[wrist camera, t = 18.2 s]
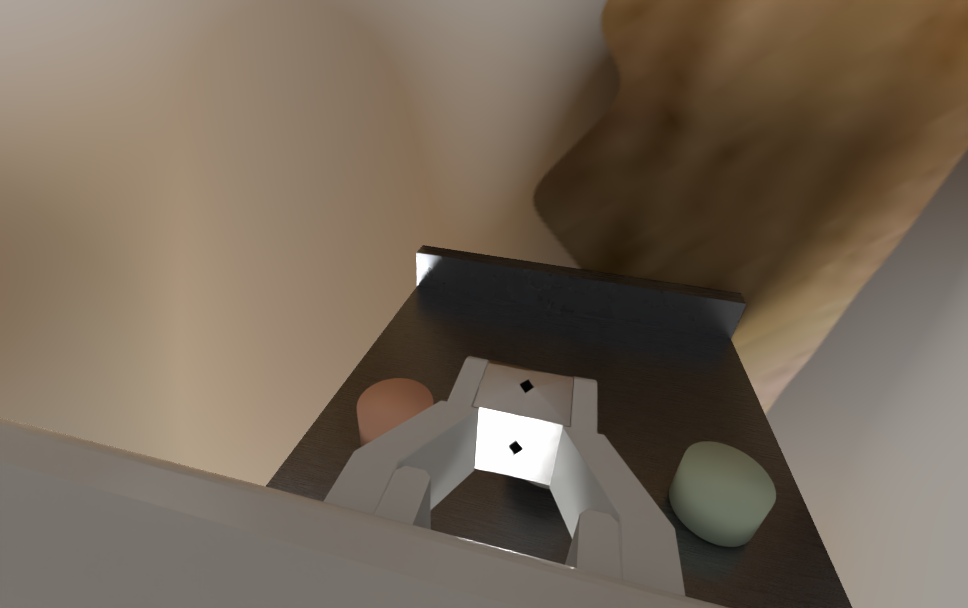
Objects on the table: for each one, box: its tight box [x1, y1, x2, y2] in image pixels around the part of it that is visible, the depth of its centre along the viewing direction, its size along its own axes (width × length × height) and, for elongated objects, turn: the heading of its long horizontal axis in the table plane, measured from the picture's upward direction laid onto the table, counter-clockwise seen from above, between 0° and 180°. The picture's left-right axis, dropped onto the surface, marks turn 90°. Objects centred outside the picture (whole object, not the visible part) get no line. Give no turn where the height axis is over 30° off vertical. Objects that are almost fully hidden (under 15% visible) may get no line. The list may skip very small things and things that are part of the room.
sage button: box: [669, 441, 776, 547], centre depth 25 cm, size 3×5×5 cm, turn 86°
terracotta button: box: [357, 378, 433, 447], centre depth 29 cm, size 3×5×5 cm, turn 86°
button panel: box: [266, 245, 852, 608], centre depth 33 cm, size 12×32×33 cm, turn 86°
